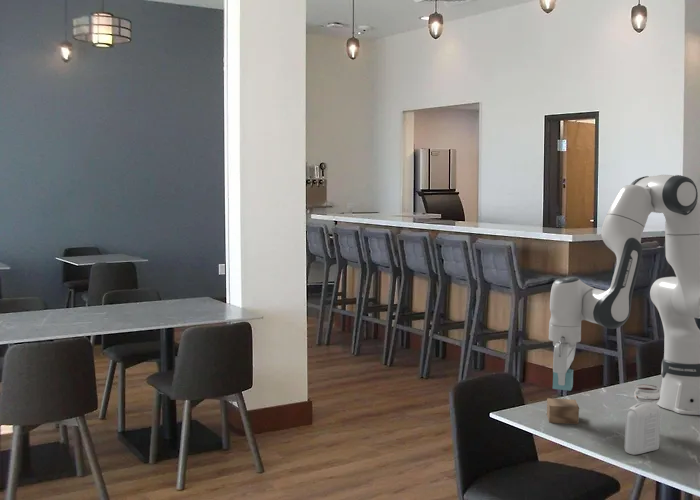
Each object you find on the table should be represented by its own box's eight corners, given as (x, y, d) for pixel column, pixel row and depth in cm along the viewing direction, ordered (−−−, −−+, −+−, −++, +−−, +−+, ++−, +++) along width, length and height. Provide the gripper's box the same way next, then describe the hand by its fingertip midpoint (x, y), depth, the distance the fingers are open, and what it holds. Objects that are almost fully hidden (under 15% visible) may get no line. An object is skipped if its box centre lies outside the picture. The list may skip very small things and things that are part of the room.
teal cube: (572, 386, 228) (573, 369, 228) (570, 390, 223) (571, 373, 223) (554, 384, 230) (555, 367, 229) (552, 388, 225) (553, 371, 225)
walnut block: (574, 416, 231) (575, 399, 230) (578, 424, 223) (578, 407, 222) (546, 415, 232) (547, 398, 231) (549, 423, 224) (549, 405, 224)
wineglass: (627, 427, 219) (628, 385, 218) (646, 425, 222) (648, 383, 221) (644, 435, 213) (645, 391, 212) (664, 432, 215) (666, 389, 214)
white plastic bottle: (647, 444, 205) (649, 397, 204) (661, 449, 202) (663, 401, 201) (621, 451, 200) (623, 403, 199) (636, 456, 196) (637, 407, 195)
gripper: (572, 341, 214) (570, 391, 216) (579, 329, 233) (578, 375, 235) (548, 339, 217) (546, 389, 218) (557, 327, 236) (556, 373, 237)
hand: (563, 382), depth 226 cm, fingers closed on teal cube, 5 cm apart
